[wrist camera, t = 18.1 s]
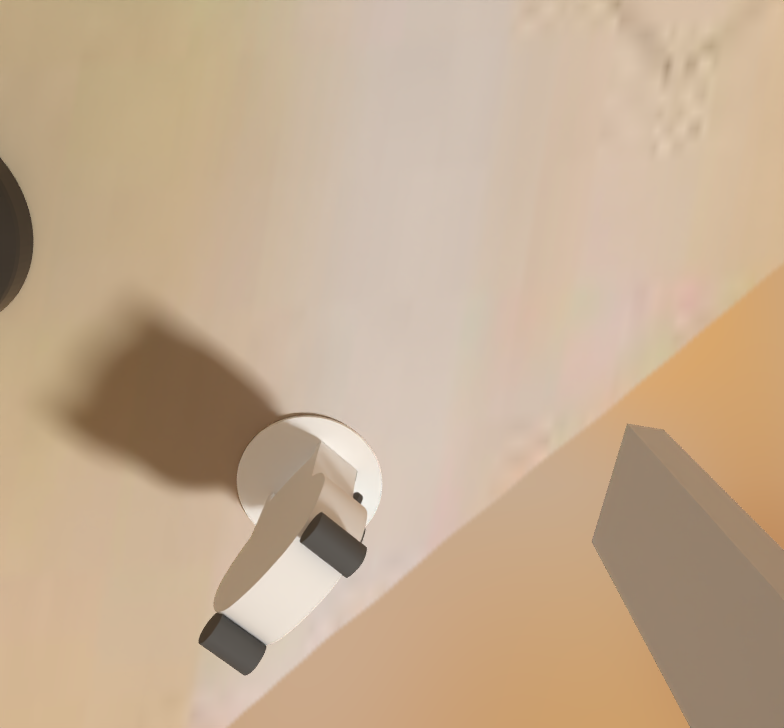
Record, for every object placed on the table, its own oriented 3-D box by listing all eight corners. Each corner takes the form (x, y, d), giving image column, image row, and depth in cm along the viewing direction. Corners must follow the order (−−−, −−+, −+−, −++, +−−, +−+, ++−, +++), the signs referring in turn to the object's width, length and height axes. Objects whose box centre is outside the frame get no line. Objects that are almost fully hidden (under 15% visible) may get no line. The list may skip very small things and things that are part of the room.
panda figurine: (312, 576, 57) (287, 719, 42) (203, 492, 55) (136, 614, 40) (412, 478, 54) (420, 595, 40) (301, 386, 52) (267, 475, 38)
